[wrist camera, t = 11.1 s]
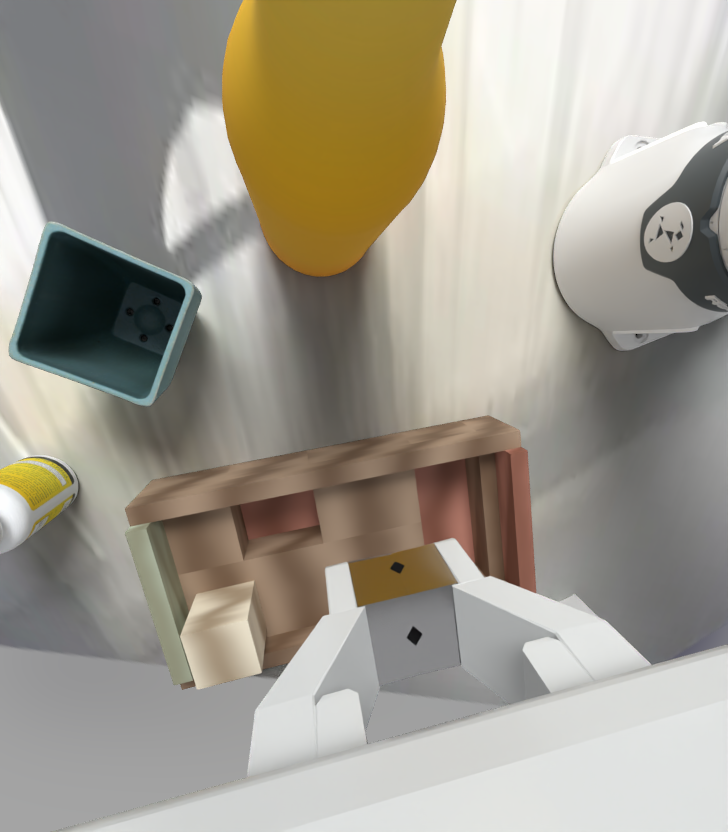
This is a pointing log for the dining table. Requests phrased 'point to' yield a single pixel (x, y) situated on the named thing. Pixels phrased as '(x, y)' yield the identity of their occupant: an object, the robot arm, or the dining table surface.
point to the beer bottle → (333, 118)
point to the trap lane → (328, 524)
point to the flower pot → (102, 317)
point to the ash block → (225, 635)
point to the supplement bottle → (33, 497)
